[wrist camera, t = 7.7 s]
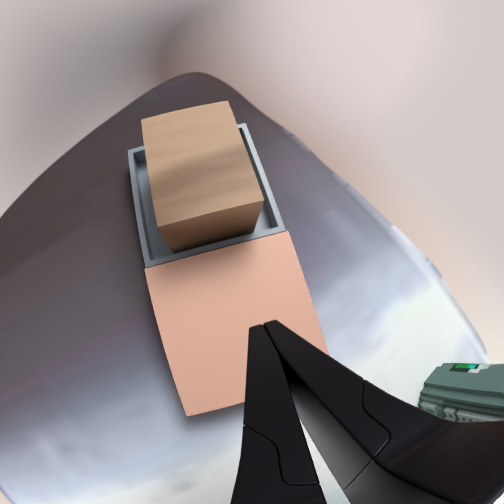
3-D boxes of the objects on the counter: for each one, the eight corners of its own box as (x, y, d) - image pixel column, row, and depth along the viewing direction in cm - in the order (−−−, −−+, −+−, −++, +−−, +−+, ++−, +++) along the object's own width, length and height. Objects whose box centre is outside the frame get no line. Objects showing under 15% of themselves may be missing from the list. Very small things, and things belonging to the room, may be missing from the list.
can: (468, 390, 20) (585, 396, 6) (433, 435, 19) (553, 469, 4) (448, 351, 21) (582, 341, 7) (409, 398, 20) (552, 425, 5)
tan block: (264, 200, 16) (227, 100, 18) (157, 226, 15) (141, 119, 17) (252, 234, 22) (225, 149, 23) (174, 255, 21) (156, 165, 22)
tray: (280, 239, 22) (285, 230, 20) (152, 273, 20) (145, 267, 18) (243, 137, 24) (245, 123, 22) (133, 163, 23) (127, 150, 21)
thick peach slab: (321, 366, 20) (333, 370, 17) (190, 406, 18) (186, 416, 16) (281, 241, 22) (288, 230, 20) (152, 276, 20) (144, 268, 18)
